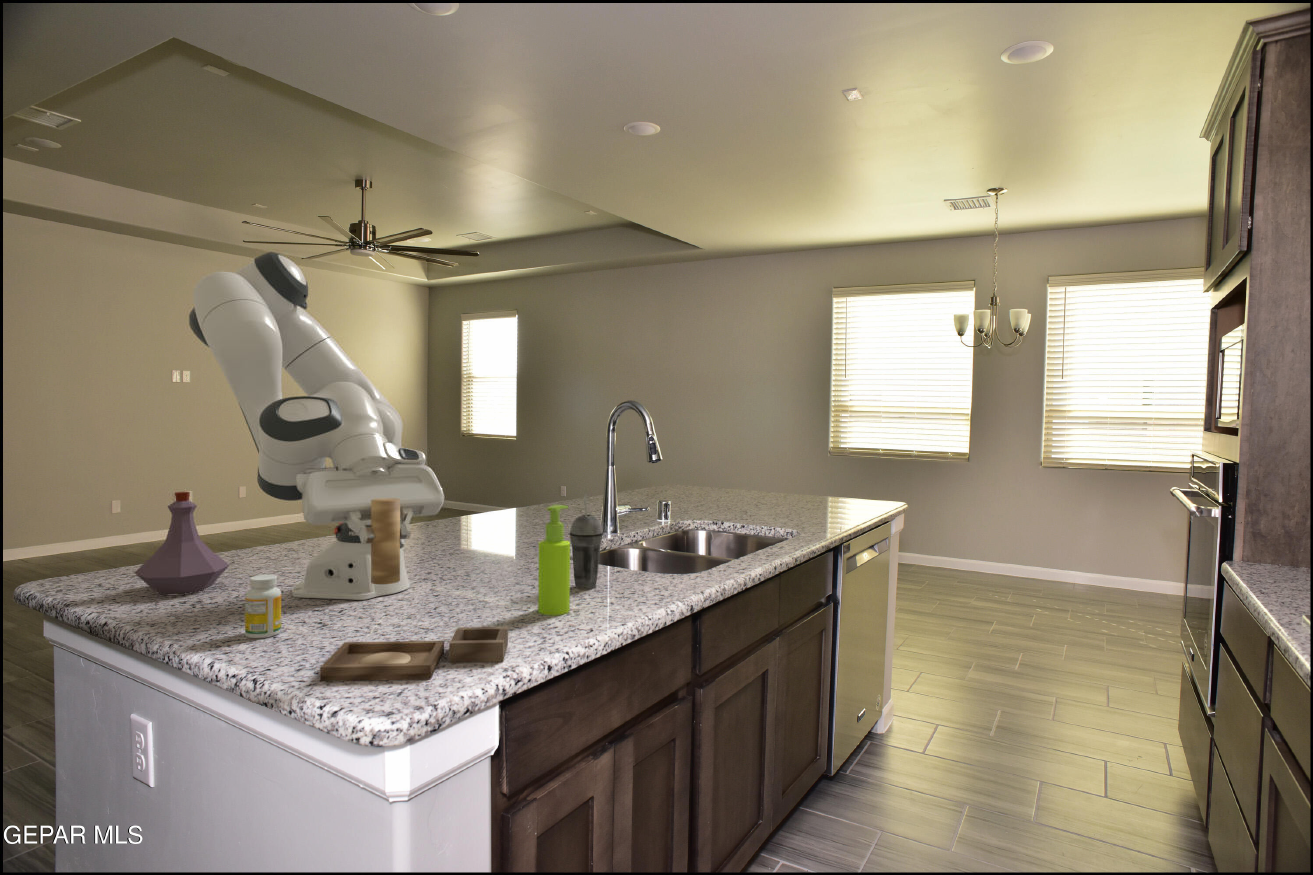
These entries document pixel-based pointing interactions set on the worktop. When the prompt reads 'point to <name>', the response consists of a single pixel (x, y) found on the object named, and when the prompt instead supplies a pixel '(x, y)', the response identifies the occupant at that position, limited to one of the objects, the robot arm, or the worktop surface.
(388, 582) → the dowel
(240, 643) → the worktop surface
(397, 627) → the worktop surface
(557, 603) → the soap dispenser
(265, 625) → the supplement bottle
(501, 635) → the socket
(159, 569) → the flask
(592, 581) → the beverage cup
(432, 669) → the tray
